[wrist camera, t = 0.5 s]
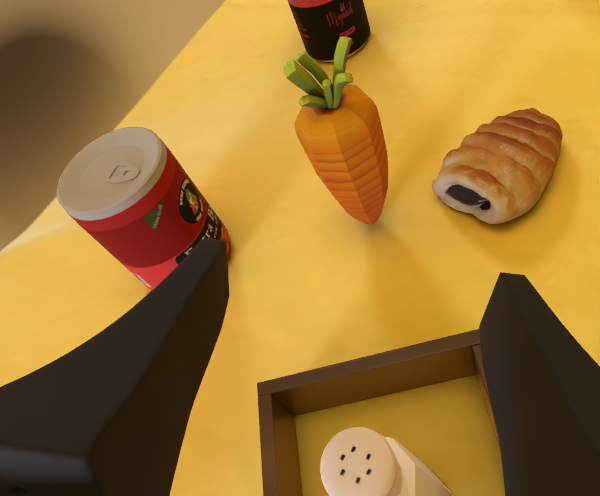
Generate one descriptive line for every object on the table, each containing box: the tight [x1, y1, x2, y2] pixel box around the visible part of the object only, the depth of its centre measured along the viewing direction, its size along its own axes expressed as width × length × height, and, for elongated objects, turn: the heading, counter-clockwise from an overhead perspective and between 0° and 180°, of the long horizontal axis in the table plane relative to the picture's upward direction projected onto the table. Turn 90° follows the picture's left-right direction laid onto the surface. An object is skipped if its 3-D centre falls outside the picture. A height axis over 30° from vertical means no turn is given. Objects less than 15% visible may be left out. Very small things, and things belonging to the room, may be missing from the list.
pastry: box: [432, 108, 563, 224], centre depth 36 cm, size 9×7×4 cm
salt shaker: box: [320, 427, 454, 496], centre depth 23 cm, size 5×5×11 cm
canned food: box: [57, 127, 231, 290], centre depth 39 cm, size 8×8×11 cm
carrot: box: [284, 37, 388, 224], centre depth 33 cm, size 5×5×15 cm
